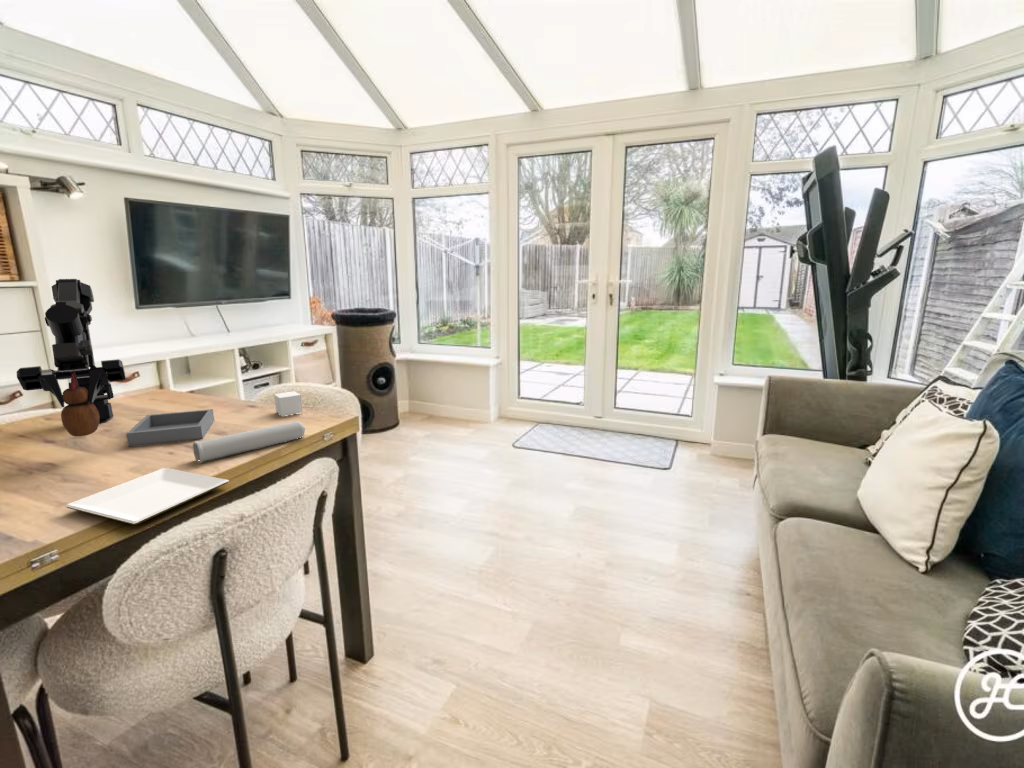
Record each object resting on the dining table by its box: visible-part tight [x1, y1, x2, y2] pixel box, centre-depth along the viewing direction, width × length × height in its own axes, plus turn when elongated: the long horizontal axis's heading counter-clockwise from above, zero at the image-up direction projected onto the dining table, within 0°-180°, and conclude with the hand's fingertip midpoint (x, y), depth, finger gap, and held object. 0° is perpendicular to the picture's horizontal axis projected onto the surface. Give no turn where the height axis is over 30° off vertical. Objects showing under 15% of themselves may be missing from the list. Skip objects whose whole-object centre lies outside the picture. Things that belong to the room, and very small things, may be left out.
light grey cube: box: [273, 390, 303, 417], centre depth 152 cm, size 6×6×6 cm
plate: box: [65, 467, 230, 526], centre depth 96 cm, size 19×19×2 cm
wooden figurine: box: [60, 370, 100, 437], centre depth 116 cm, size 7×6×15 cm
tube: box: [192, 420, 306, 464], centre depth 123 cm, size 5×5×25 cm
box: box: [125, 408, 215, 448], centre depth 135 cm, size 16×17×4 cm
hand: (77, 404), depth 115 cm, fingers closed on wooden figurine, 5 cm apart
